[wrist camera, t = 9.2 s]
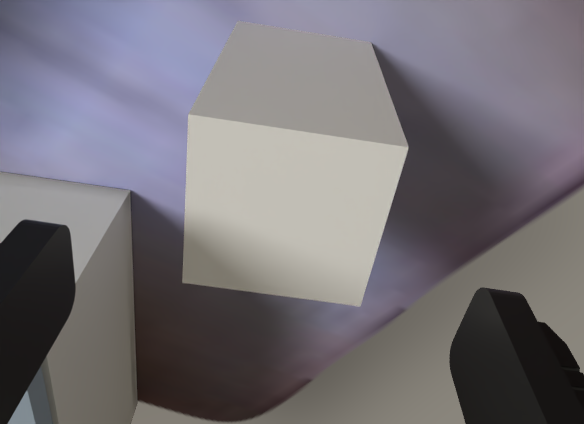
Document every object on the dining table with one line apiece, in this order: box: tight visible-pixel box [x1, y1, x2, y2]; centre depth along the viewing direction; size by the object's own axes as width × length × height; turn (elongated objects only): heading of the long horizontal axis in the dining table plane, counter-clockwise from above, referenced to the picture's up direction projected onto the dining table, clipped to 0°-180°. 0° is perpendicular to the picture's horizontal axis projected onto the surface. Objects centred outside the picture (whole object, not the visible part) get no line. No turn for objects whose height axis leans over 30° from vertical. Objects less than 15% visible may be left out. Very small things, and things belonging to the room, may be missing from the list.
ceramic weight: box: [182, 21, 409, 306], centre depth 15 cm, size 4×4×8 cm
